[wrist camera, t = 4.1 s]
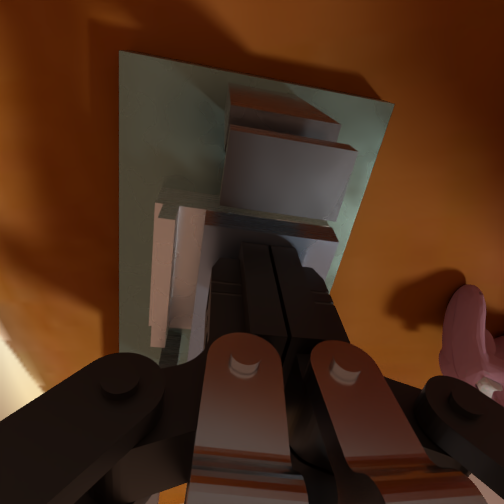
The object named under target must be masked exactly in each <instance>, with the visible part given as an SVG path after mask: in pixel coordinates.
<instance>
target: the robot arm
mask: <svg viewBox="0 0 504 504" xmlns="http://www.w3.org/2000/svg"><path fill="white" fill-rule="evenodd" d="M471 473H472V474H473V475H475V476H476V477H477V478H478V479H480V480H481V481H482V482H483V483H484V484H486V485H487V486H488V487H489V488H490V489H492V490H493V491H494V492H495V493H496V494H498V495H499V496H500V497H501V498H503V499H504V407H503V406H501V405H500V404H499V403H497V402H496V401H494V400H493V399H491V398H490V397H488V396H487V395H485V394H484V393H482V392H481V391H479V390H478V389H477V388H475V387H473V386H472V385H470V384H468V383H466V382H464V381H462V380H460V379H457V378H454V377H450V376H435V377H432V378H430V379H429V380H428V381H427V383H426V385H425V386H424V388H423V389H422V390H421V389H418V388H415V387H412V386H410V385H407V384H404V383H401V382H398V381H395V380H392V379H389V378H386V377H384V376H383V375H382V373H381V371H380V369H379V367H378V366H377V364H376V363H375V361H374V360H373V359H372V358H371V357H370V356H369V355H368V354H367V353H366V352H364V351H363V350H362V349H360V348H358V347H356V346H354V345H352V344H350V341H349V339H348V337H347V334H346V332H345V329H344V327H343V325H342V322H341V320H340V317H339V315H338V313H337V310H336V308H335V306H334V305H333V301H332V298H331V296H330V295H329V291H328V289H327V286H326V284H325V281H324V279H323V278H322V277H321V276H320V275H319V274H318V273H317V272H316V271H315V270H314V269H313V268H311V267H302V264H301V262H300V259H299V256H298V253H297V250H296V249H295V248H290V247H282V246H274V245H269V249H268V246H267V245H265V244H256V243H248V242H241V244H240V249H239V254H238V259H231V258H222V257H220V258H219V260H218V261H217V262H216V263H215V264H214V266H213V267H212V271H211V278H210V285H209V291H208V298H207V305H206V312H205V329H204V347H203V351H202V352H201V353H200V354H199V355H198V356H197V357H196V358H194V359H192V360H190V361H188V362H186V363H183V364H180V365H176V366H171V367H166V368H162V369H161V368H160V367H159V365H158V364H157V363H156V362H154V361H153V360H152V359H150V358H148V357H146V356H144V355H141V354H137V353H130V352H121V353H114V354H110V355H106V356H104V357H101V358H99V359H97V360H95V361H93V362H92V363H90V364H89V365H87V366H85V367H84V368H82V369H81V370H79V371H78V372H76V373H75V374H73V375H71V376H70V377H68V378H67V379H65V380H64V381H62V382H61V383H59V384H58V385H56V386H54V387H53V388H51V389H50V390H48V391H47V392H45V393H44V394H42V395H40V396H39V397H38V398H36V399H34V400H33V401H31V402H30V403H28V404H26V405H25V406H23V407H22V408H20V409H19V410H17V411H16V412H14V413H12V414H11V415H9V416H8V417H6V418H5V419H3V420H2V421H0V504H146V502H147V501H148V500H149V498H150V497H151V495H153V494H156V493H159V492H162V491H164V490H167V489H170V488H173V487H176V486H178V485H181V484H184V483H187V488H186V494H185V501H184V504H487V502H486V500H485V499H484V497H483V495H482V494H481V492H480V491H479V490H478V488H477V487H476V486H475V484H474V483H473V482H472V481H471V480H470V479H469V478H468V477H469V475H470V474H471Z"/></svg>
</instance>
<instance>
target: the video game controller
mask: <svg viewBox="0 0 504 504" xmlns="http://www.w3.org/2000/svg"><path fill="white" fill-rule="evenodd" d="M485 320H486V304H485V300H484V296H483V294H482V292H481V291H480V289H479V288H478V287H476V286H474V285H463V286H462V287H460V288H459V289H458V290H457V291H456V292H455V293H454V295H453V296H452V298H451V300H450V302H449V304H448V307H447V309H446V312H445V317H444V322H443V335H442V349H441V351H440V354H439V364H440V369H441V371H442V374H443V376H450V377H454V378H457V379H460V380H462V381H464V382H466V383H468V384H470V385H472V386H473V387H475V388H477V389H478V390H479V391H481V392H482V393H484V394H485V395H487V396H488V397H490V398H491V399H493V400H494V401H496V402H497V403H499V404H500V405H501V406H503V407H504V335H503V336H500V337H497V338H495V339H493V337H492V335H491V333H490V332H489V331H488V330H487V329H486V328H485Z"/></svg>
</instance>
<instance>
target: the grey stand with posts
mask: <svg viewBox="0 0 504 504" xmlns="http://www.w3.org/2000/svg"><path fill="white" fill-rule="evenodd" d="M394 105H395V104H393V103H390V102H387V101H384V100H380V99H375V98H370V97H365V96H360V95H354V94H349V93H344V92H339V91H334V90H329V89H324V88H319V87H313V86H308V85H303V84H298V83H293V82H288V81H283V80H278V79H272V78H267V77H262V76H257V75H252V74H247V73H242V72H237V71H231V70H226V69H221V68H216V67H211V66H206V65H201V64H196V63H190V62H185V61H180V60H175V59H170V58H165V57H160V56H155V55H149V54H144V53H139V52H134V51H129V50H119V353H121V352H130V353H137V354H141V355H144V356H146V357H148V358H150V359H152V360H153V361H154V362H156V363H157V364H158V365H159V367H160V368H161V369H162V368H166V367H171V366H176V365H180V364H183V363H186V362H187V358H188V350H189V342H190V334H191V326H192V318H193V310H194V302H195V295H196V287H197V279H198V271H199V263H200V255H201V247H202V239H203V231H204V223H205V215H206V210H209V211H217V212H224V213H231V214H239V215H246V216H253V217H260V218H268V219H275V220H282V221H290V222H297V223H304V224H311V225H319V226H326V227H332V228H333V230H334V232H335V234H336V237H337V239H338V241H339V245H338V247H337V250H336V253H335V255H334V258H333V261H332V263H331V266H330V269H329V271H328V274H327V276H326V279H325V284H326V286H327V289H328V291H329V293H330V290H331V287H332V285H333V282H334V279H335V276H336V273H337V270H338V267H339V264H340V261H341V258H342V256H343V253H344V250H345V247H346V244H347V241H348V238H349V235H350V232H351V229H352V227H353V224H354V221H355V218H356V215H357V212H358V209H359V206H360V203H361V200H362V197H363V195H364V192H365V189H366V186H367V183H368V180H369V177H370V174H371V171H372V168H373V166H374V163H375V160H376V157H377V154H378V151H379V148H380V145H381V142H382V139H383V137H384V134H385V131H386V128H387V125H388V122H389V119H390V116H391V113H392V110H393V108H394ZM159 494H160V492H159V493H156V494H153V495H151V497H150V498H149V500H148V501H147V502H146V504H158V500H159Z"/></svg>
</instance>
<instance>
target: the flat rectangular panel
mask: <svg viewBox="0 0 504 504" xmlns="http://www.w3.org/2000/svg"><path fill="white" fill-rule="evenodd" d="M241 242H248V243H256V244H265V245H267V246H268V249H269V245H274V246H282V247H290V248H295V249H296V250H297V253H298V256H299V259H300V262H301V264H302V267H311V268H313V269H314V270H315V271H316V272H317V273H318V274H319V275H320V276H321V277H322V278H323V279H324V281H325V279H326V276H327V274H328V271H329V269H330V266H331V263H332V261H333V258H334V255H335V253H336V250H337V247H338V245H339V241H338V239H337V237H336V234H335V232H334V230H333V228H332V227H326V226H319V225H311V224H304V223H297V222H290V221H282V220H275V219H268V218H260V217H253V216H246V215H239V214H231V213H224V212H217V211H209V210H206V215H205V223H204V231H203V239H202V247H201V255H200V263H199V271H198V279H197V287H196V295H195V302H194V310H193V318H192V326H191V334H190V342H189V350H188V358H187V362H188V361H190V360H192V359H194V358H196V357H197V356H198V355H199V354H200V353H201V352H202V351H203V347H204V329H205V312H206V305H207V298H208V291H209V285H210V278H211V271H212V267H213V266H214V264H215V263H216V262H217V261H218V260H219V258H220V257H222V258H231V259H238V254H239V249H240V244H241Z"/></svg>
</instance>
